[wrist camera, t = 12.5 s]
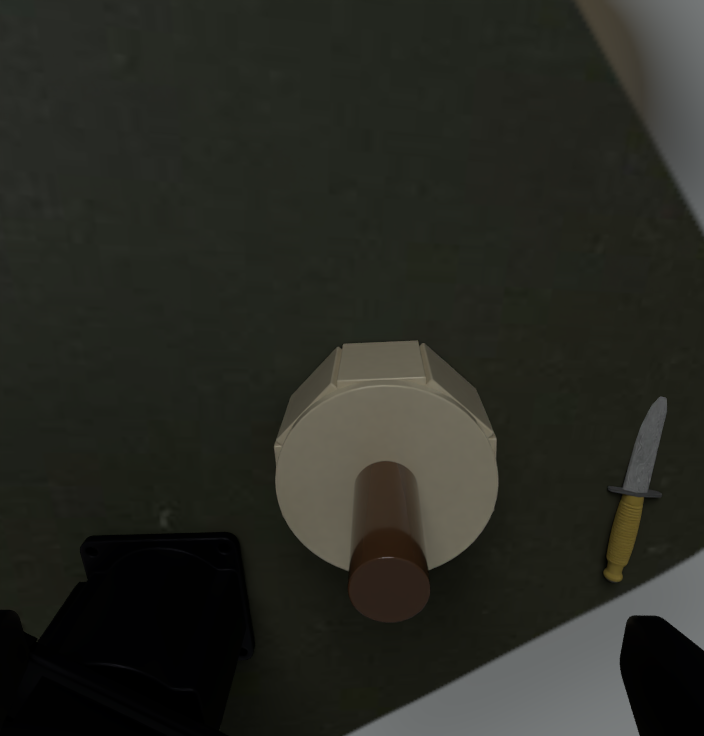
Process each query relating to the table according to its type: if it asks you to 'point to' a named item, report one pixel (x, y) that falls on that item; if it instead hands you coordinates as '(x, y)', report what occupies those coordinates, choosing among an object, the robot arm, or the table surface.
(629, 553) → the dagger
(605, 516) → the table surface
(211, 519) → the table surface
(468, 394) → the cover
